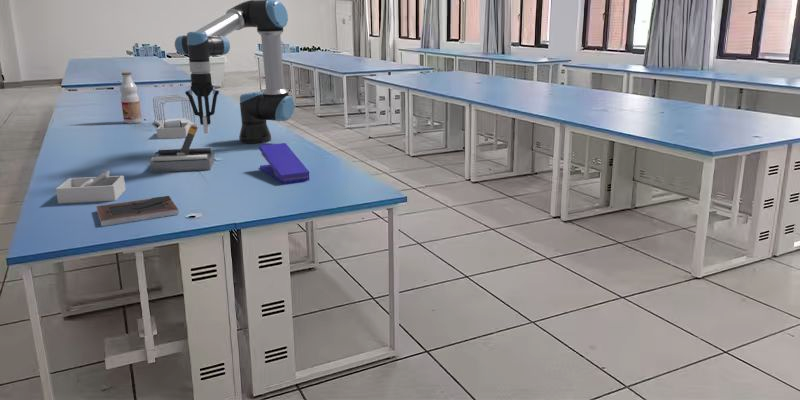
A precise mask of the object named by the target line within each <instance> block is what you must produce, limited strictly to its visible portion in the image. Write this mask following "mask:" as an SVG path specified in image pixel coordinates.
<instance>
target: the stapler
mask: <svg viewBox="0 0 800 400" xmlns="http://www.w3.org/2000/svg"><path fill="white" fill-rule="evenodd" d="M258 150H259V151H260V153H261V156H263V158H264V160H265V161H266V162H267V163H268V164H264V165H259V169H260V170H262V171H263V172H265V173H266V174H268V175H270V176H271V177H273V178H274V179H276V180H277V181H279V182H280V183H282V184H291V183H292V184H293V183H299V182H305V181H310V171H309V170H308V169H307V167H306V166H305V165H304V164H303V162H302V160H300V159H299V157H297V155H296V154H295V152H294V151H293V150H292V149H291V148H290V147H289V146H288V144H287V143H286V142H282V143H273V144H263V145H262V144H261V145H259V146H258Z"/></svg>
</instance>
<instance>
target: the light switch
mask: <svg viewBox="0 0 800 400" xmlns="http://www.w3.org/2000/svg"><path fill="white" fill-rule="evenodd" d="M110 174H111V172H110V171H109V170H105V171H104V172H102V173H101V174H99V175H98V176H95V177H96V178H94V179H90V180H88V181H86V182H85V183H83V184H82V185H81V187H90V186H96V185H98V184H100V183H101V182H103V181H105V180H106V179H108V177H109V176H110Z"/></svg>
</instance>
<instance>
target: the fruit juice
mask: <svg viewBox="0 0 800 400" xmlns="http://www.w3.org/2000/svg"><path fill="white" fill-rule="evenodd" d="M121 76H122V81H121V84H120V86H119V91H120V94H121V96H120V101H121V102H120V103H121V107H122V108H121V110H122V116H123V121H124V122H123V123H124V124H127V125H128V124H129V125H133V124H139V123H142V122H143V121H142V120H143V119H142V111H141V103H140V97H139V94H138V86H137V85H136V83H135V82H134V81H133V77H132V72H130V71H129V72H128V71H126V72H125V71H124V72H121Z"/></svg>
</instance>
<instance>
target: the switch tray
mask: <svg viewBox="0 0 800 400" xmlns="http://www.w3.org/2000/svg"><path fill="white" fill-rule="evenodd" d="M96 177H97V176H88V177H87V176H85V177H84V176H83V177H69V178H68V179H67V180H65V181H64V182H63V183H61V184H60V185H58V186H57V187H56V188H55V192H56V193H55V194H56V198H57V204H75V203H93V202H96V203H97V202H114V201H117V200H118V199H119V198H120V196H121V195H122V194H123V193H124V192H125V191H126V183H125V176H124V175H109V177H108V179H106V180H105V181H103V182H101V183H100V184H98V185H96V186H90V187H81V185H82V184H83V183H85V182H86V181H88V180H90V179H94V178H96Z"/></svg>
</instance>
